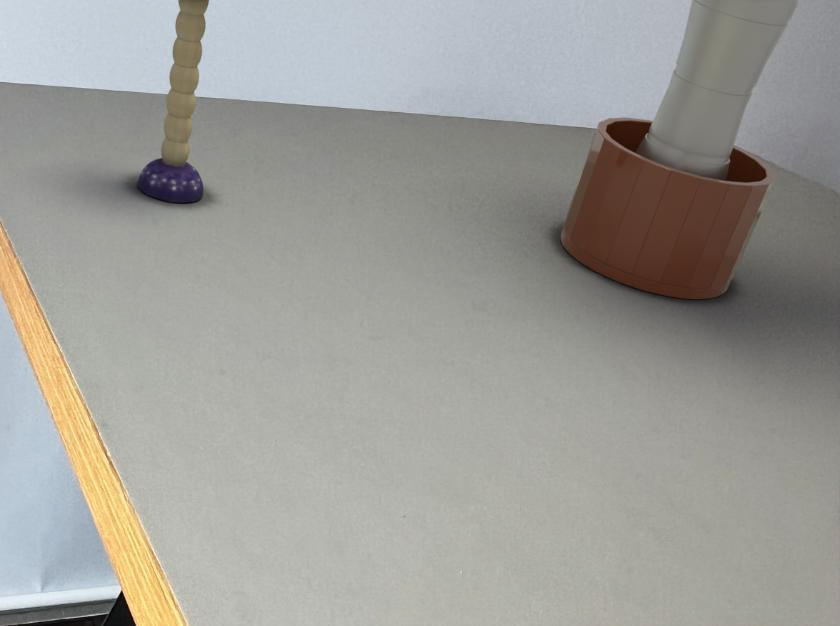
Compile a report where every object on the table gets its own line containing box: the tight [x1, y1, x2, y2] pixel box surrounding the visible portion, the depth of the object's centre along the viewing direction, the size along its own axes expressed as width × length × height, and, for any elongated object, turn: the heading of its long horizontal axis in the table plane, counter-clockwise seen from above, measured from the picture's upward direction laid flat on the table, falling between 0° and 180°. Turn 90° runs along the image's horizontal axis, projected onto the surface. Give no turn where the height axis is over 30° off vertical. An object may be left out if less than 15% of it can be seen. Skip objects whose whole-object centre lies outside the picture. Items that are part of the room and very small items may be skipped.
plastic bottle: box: [636, 0, 799, 181], centre depth 81 cm, size 6×7×20 cm
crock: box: [560, 117, 776, 300], centre depth 86 cm, size 12×12×8 cm
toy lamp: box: [137, 0, 210, 203], centre depth 75 cm, size 5×5×17 cm
